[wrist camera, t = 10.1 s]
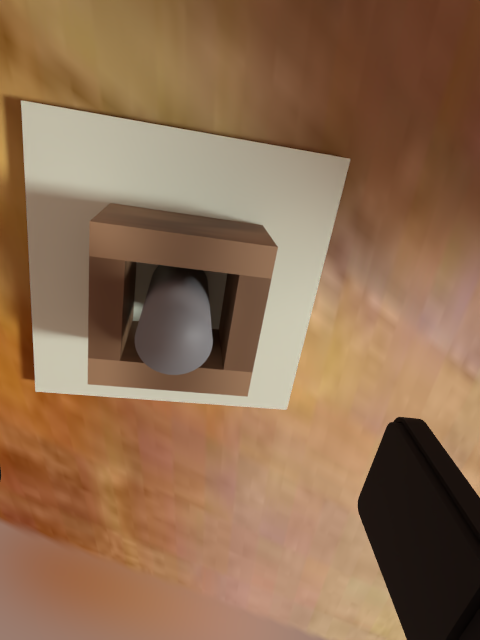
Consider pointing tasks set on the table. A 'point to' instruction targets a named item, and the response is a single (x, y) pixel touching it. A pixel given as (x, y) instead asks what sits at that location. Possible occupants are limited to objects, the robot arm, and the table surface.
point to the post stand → (159, 280)
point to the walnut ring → (186, 252)
